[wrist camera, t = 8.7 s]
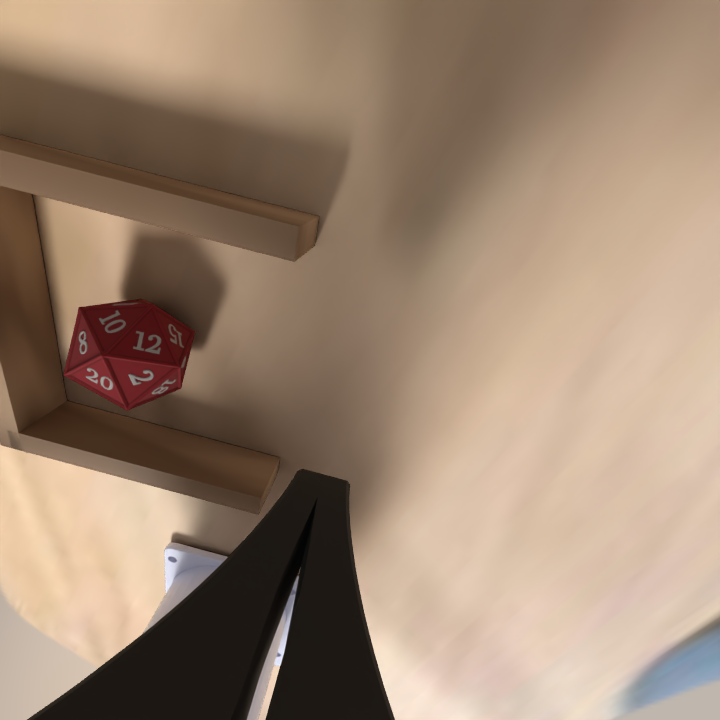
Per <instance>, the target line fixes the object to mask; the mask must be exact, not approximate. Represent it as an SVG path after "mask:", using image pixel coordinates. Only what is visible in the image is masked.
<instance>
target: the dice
mask: <svg viewBox="0 0 720 720" xmlns="http://www.w3.org/2000/svg"><path fill="white" fill-rule="evenodd" d="M194 334H195V331H194V330H192V329H191V328H189V327H187V326H186V325H184V324H183V323H181V322H180V321H178V320H177V319H175V318H174V317H172V316H171V315H169V314H168V313H166V312H165V311H163V310H162V309H160V308H159V307H157V306H156V305H154V304H153V303H150V302H147V301H145V300H143V299H137V300H130V301H122V302H115V303H108V304H101V305H93V306H86V307H79V309H78V314H77V319H76V323H75V327H74V332H73V336H72V340H71V345H70V349H69V353H68V357H67V362H66V366H65V370H64V374H63V375H64V376H65V377H68V378H69V379H71V380H73V381H75V382H77V383H78V384H80V385H82V386H84V387H86V388H87V389H89V390H91V391H93V392H95V393H96V394H98V395H100V396H102V397H104V398H105V399H107V400H109V401H111V402H113V403H114V404H116V405H118V406H120V407H122V408H123V409H125V410H127V411H128V410H130V409H132V408H135V407H137V406H140V405H142V404H144V403H147V402H149V401H152V400H154V399H157V398H159V397H161V396H164V395H166V394H169V393H171V392H174V391H176V390H178V389H181V387H182V382H183V378H184V374H185V370H186V366H187V362H188V358H189V354H190V350H191V346H192V342H193V338H194Z"/></svg>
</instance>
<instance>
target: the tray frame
mask: <svg viewBox="0 0 720 720" xmlns="http://www.w3.org/2000/svg"><path fill="white" fill-rule="evenodd" d="M32 194H35V195H38V196H42V197H46V198H50V199H54V200H58V201H62V202H66V203H69V204H73V205H77V206H81V207H85V208H89V209H93V210H96V211H100V212H104V213H108V214H112V215H116V216H120V217H124V218H127V219H131V220H135V221H139V222H143V223H147V224H151V225H154V226H158V227H162V228H166V229H170V230H174V231H178V232H182V233H185V234H189V235H193V236H197V237H201V238H205V239H209V240H212V241H216V242H220V243H224V244H228V245H232V246H236V247H240V248H243V249H247V250H251V251H255V252H259V253H263V254H267V255H270V256H274V257H278V258H282V259H286V260H290V261H294V262H295V261H296V260H297V259H298V258H300V257H301V256H302V255H304V254H305V253H306V252H307V251H309V250H310V249H311V248H313V247H314V246H315V240H316V234H317V228H318V222H319V216H316V215H312V214H308V213H304V212H300V211H296V210H292V209H288V208H284V207H281V206H277V205H273V204H269V203H265V202H261V201H257V200H253V199H249V198H245V197H242V196H238V195H234V194H230V193H226V192H222V191H218V190H214V189H210V188H206V187H203V186H199V185H195V184H191V183H187V182H183V181H179V180H175V179H171V178H167V177H164V176H160V175H156V174H152V173H148V172H144V171H140V170H136V169H132V168H128V167H125V166H121V165H117V164H113V163H109V162H105V161H101V160H97V159H93V158H89V157H86V156H82V155H78V154H74V153H70V152H66V151H62V150H58V149H54V148H50V147H47V146H43V145H39V144H35V143H31V142H27V141H23V140H19V139H15V138H11V137H8V136H4V135H0V444H1V445H2V446H6V447H10V448H13V449H17V450H21V451H25V452H28V453H32V454H36V455H39V456H43V457H47V458H51V459H54V460H58V461H62V462H65V463H69V464H73V465H76V466H80V467H84V468H88V469H91V470H95V471H99V472H102V473H106V474H110V475H114V476H117V477H121V478H125V479H128V480H132V481H136V482H140V483H143V484H147V485H151V486H154V487H158V488H162V489H165V490H169V491H173V492H177V493H180V494H184V495H188V496H191V497H195V498H199V499H203V500H206V501H210V502H214V503H217V504H221V505H225V506H229V507H232V508H236V509H240V510H243V511H247V512H251V513H254V514H258V515H259V513H260V510H261V508H262V506H263V504H264V502H265V499H266V497H267V495H268V493H269V491H270V488H271V486H272V484H273V482H274V480H275V477H276V475H277V473H278V467H279V461H280V458H279V457H275V456H272V455H268V454H264V453H260V452H257V451H253V450H249V449H245V448H242V447H238V446H234V445H230V444H227V443H223V442H219V441H215V440H212V439H208V438H204V437H201V436H197V435H193V434H189V433H186V432H182V431H178V430H174V429H171V428H167V427H163V426H159V425H156V424H152V423H148V422H144V421H141V420H137V419H133V418H129V417H126V416H122V415H118V414H114V413H111V412H107V411H103V410H99V409H96V408H92V407H88V406H84V405H81V404H77V403H73V402H69V401H67V399H66V394H65V388H64V382H63V376H62V370H61V364H60V358H59V352H58V346H57V340H56V334H55V328H54V322H53V316H52V310H51V305H50V299H49V293H48V287H47V281H46V275H45V269H44V263H43V257H42V251H41V245H40V239H39V233H38V227H37V222H36V216H35V210H34V204H33V198H32Z"/></svg>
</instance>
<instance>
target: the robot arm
mask: <svg viewBox="0 0 720 720" xmlns="http://www.w3.org/2000/svg"><path fill="white" fill-rule="evenodd" d="M349 491H350V484H349V483H348V481H346V480H342V479H338V478H335V477H331V476H327V475H323V474H319V473H316V472H312V471H308V470H304V469H301V470H299V471H297V473H296V475H295V476H294V478H293V480H292V481H291V483H290V484H289V486H288V487H287V489H286V490H285V492H284V493H283V494H282V496H281V497H280V498H279V500H278V501H277V502H276V503H275V505H274V506H273V507H272V509H271V510H270V511H269V512H268V513H267V514H266V516H265V517H264V518H263V519H262V520H261V522H260V523H259V524H258V525H257V526H256V527H255V529H254V530H253V531H252V532H251V533H250V534H249V535H248V536H247V538H246V539H245V540H244V541H243V542H242V543H241V544H240V545H239V546H238V547H237V548H236V549H235V550H234V551H233V552H232V553H231V554H230V555H229V556H228V557H227V556H223V555H219V554H216V553H212V552H208V551H205V550H201V549H197V548H193V547H190V546H186V545H182V544H179V543H174V542H173V543H169V544H168V545H167V547H166V548H165V551H164V555H165V588H166V595H165V596H164V598H163V600H162V602H161V603H160V605H159V607H158V608H157V610H156V612H155V614H154V615H153V617H152V619H151V620H150V622H149V624H148V625H147V627H146V629H145V631H144V632H143V634H142V635H141V636H140V637H138V638H137V639H136V640H135V641H133V642H132V643H131V644H129V645H128V646H127V647H126V648H124V649H123V650H122V651H120V652H119V653H118V654H116V655H115V656H114V657H113V658H111V659H110V660H109V661H107V662H106V663H105V664H103V665H102V666H101V667H99V668H98V669H97V670H96V671H94V672H93V673H92V674H90V675H89V676H88V677H86V678H85V679H84V680H82V681H81V682H80V683H78V684H77V685H76V686H74V687H73V688H72V689H70V690H69V691H67V692H66V693H65V694H64V695H62V696H60V697H59V698H58V699H56V700H55V701H54V702H52V703H50V704H49V705H48V706H46V707H45V708H43V709H42V710H40V711H39V712H37V713H36V714H34V715H33V716H32V717H30V718H29V719H27V720H258V718H259V715H260V711H261V708H262V705H263V701H264V698H265V694H266V691H267V687H268V684H269V680H270V677H271V673H272V670H273V666H274V665H275V666H280V665H281V666H280V669H279V673H278V677H277V680H276V684H275V687H274V691H273V695H272V698H271V702H270V706H269V709H268V713H267V716H266V720H395V719H394V716H393V713H392V710H391V707H390V703H389V700H388V697H387V694H386V691H385V688H384V685H383V682H382V678H381V675H380V671H379V668H378V664H377V661H376V657H375V654H374V650H373V646H372V642H371V638H370V635H369V631H368V627H367V622H366V618H365V614H364V609H363V605H362V600H361V595H360V590H359V585H358V579H357V574H356V568H355V561H354V554H353V546H352V539H351V529H350V515H349ZM300 567H301V569H300ZM299 570H300V574H299V576H297V575H298V573H299Z"/></svg>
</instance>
